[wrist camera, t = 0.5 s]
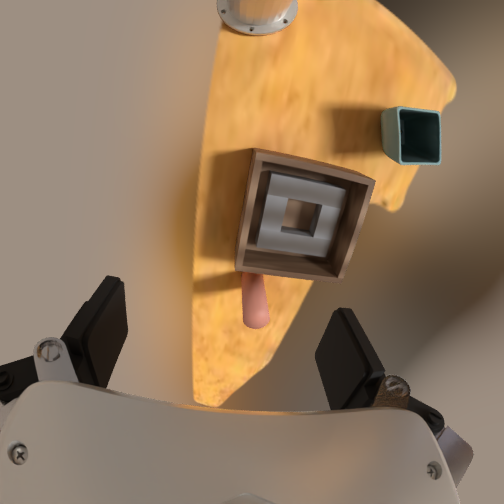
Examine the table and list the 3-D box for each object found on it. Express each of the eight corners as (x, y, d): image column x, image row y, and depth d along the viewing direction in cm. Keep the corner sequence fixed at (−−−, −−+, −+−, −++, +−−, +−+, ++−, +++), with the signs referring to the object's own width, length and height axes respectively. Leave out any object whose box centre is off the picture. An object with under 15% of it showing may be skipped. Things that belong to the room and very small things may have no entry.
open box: (253, 147, 40) (256, 152, 34) (357, 171, 43) (375, 180, 36) (234, 250, 48) (234, 270, 42) (329, 263, 50) (341, 283, 44)
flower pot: (372, 156, 41) (399, 165, 33) (369, 106, 37) (396, 105, 29) (411, 155, 41) (441, 165, 33) (409, 109, 37) (440, 111, 29)
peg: (243, 266, 50) (245, 307, 39) (264, 269, 50) (272, 310, 40) (239, 284, 51) (241, 327, 41) (260, 286, 52) (266, 329, 41)
